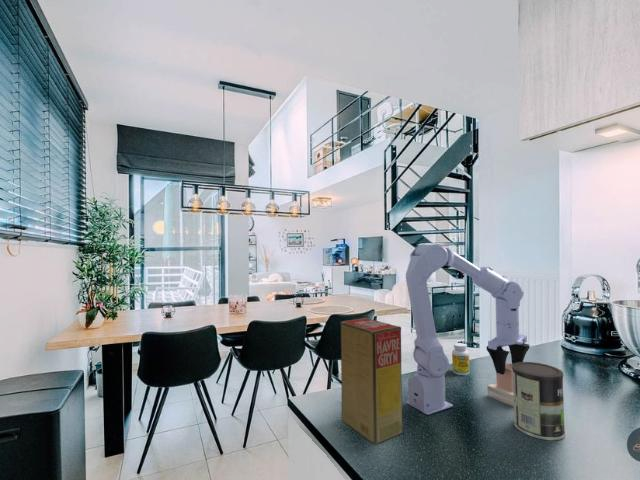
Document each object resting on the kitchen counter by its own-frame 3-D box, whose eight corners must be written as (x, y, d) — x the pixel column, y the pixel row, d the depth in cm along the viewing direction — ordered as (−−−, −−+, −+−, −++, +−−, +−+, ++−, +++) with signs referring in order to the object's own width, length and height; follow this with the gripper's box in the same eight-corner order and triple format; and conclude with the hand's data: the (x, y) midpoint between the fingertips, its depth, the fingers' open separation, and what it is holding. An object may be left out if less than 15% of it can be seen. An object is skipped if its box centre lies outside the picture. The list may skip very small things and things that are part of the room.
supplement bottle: (464, 369, 119) (463, 341, 119) (472, 375, 113) (472, 346, 114) (449, 370, 118) (448, 342, 118) (457, 376, 113) (457, 347, 113)
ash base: (514, 407, 91) (514, 395, 91) (487, 395, 98) (487, 385, 98) (532, 400, 94) (532, 389, 94) (505, 389, 102) (504, 379, 102)
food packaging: (405, 432, 79) (402, 326, 80) (374, 446, 74) (372, 332, 75) (368, 410, 91) (366, 316, 91) (339, 420, 86) (337, 321, 86)
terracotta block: (511, 392, 93) (511, 370, 93) (496, 386, 97) (496, 365, 97) (521, 388, 95) (521, 367, 95) (506, 382, 99) (506, 362, 99)
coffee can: (563, 424, 82) (561, 365, 82) (567, 446, 73) (565, 380, 73) (514, 413, 87) (512, 358, 88) (512, 432, 79) (510, 371, 79)
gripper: (504, 329, 90) (505, 380, 89) (536, 322, 96) (538, 370, 96) (481, 323, 96) (482, 372, 96) (513, 318, 103) (514, 363, 102)
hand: (508, 370), depth 96 cm, fingers open, 7 cm apart
